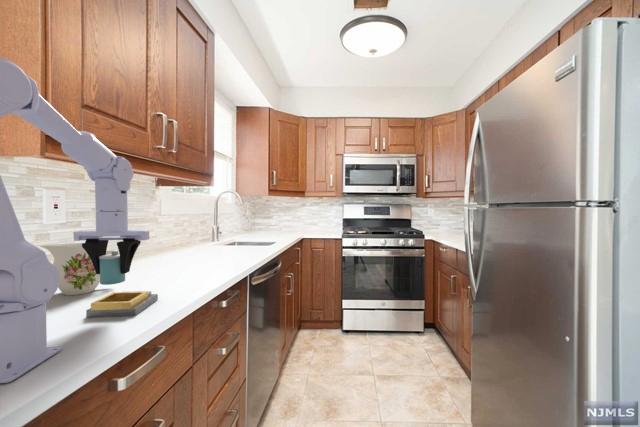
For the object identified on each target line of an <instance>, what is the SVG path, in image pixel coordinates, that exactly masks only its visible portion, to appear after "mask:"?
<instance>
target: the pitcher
mask: <svg viewBox="0 0 640 427" xmlns="http://www.w3.org/2000/svg"><path fill="white" fill-rule="evenodd" d="M82 243H83V242H76V243H55V244H51V243H50V244H41V245H39V248H40V247H41V248H43V249H45V250H48V252H49V253H50V254H51V255H52V257H53V263H52V264H53V265H54V266H55V267H56V268H57V269H58V271H59V274H60V283H59V286H58V289H59V291H60V292H62V294H63V295H65V296H79V295H83V294H89V293H91V292H94V291H95V290H96V289H97V287H98V286H99V284H100V274H96V272H95V269H94V266H93V263H92V261H91V259H90V257H89V255H88V254H87V252H86V251H85V250H84V248H83V247H82ZM112 251H117V250H115V249H107V250H106V255H109V254H112Z"/></svg>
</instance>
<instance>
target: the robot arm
mask: <svg viewBox="0 0 640 427" xmlns="http://www.w3.org/2000/svg"><path fill="white" fill-rule="evenodd" d="M7 115H13V116H14V115H15V116H18V117H20V118H21V119H23V120H24V121H26V122H28V123H29V124H31V125H32V126H34V127H35V128H37V129H38V130H40V131H42V132H43V133H45V134H46V135H48V136H49V137H51V138H52V139H54V140H56V141H57V143H60V144H61V145H60V146H61V147H60V148H61V151H62V153H63V154H64V155H66V156H67V157H69V158H70V159H71V160H73V161H74V162H76V163H77V164H78V165H80V166H82V167H83V169H84V170H85V171H86V172H87V175H88V178H89V179H90V180H91V181H93V182H94V190H95V191H94V192H95V194H94V195H95V196H94V197H95V198H94V199H95V201H94V202H95V203H94V204H95V230H79V231H73V232H72V233H73V242H74V241H75V242H76V241H79V242H80V241H84V242H81V243H82V247H83V248H84V250H85V251H86V252H87V254H88V255H89V257H90V259H91V261H92V263H93V266H94V269H95V272H96V274H100V259H99V257H100V256H103V255H106V251H107V250H108V249H107V248H108V244H109V241H117V242H116V246H117V248H118V250H117V251H118V252H119V254H120V270H121V274H125V275H126V274H128V273H130V270H131V266H132V263H133V259H134V256H135V254H136V252H137V250H138V248H139V247H140V245H141V243H142V242H141V241H147V240H150V230H132V229H131V230H129V217H128V213H129V212H128V211H129V210H128V209H129V208H128V207H129V206H128V191H129V190H130V188H131V182H132V179H133V177H134V171H135V170H133V166H132V163H131V162H130V161H129V160H128V158H127V159H126V158H125V157H124V156H120V155H119V156H118V155H116V154H115V153H114V152H113V151H112V150H110V149H109V148H108V147H107V146H105V145H104V144H103V143H102V142H101V141H100V140H98V139H97V138H96V135H95V134H94V133H92V132H88V131H85V130H77V129H76V128H75V127H74V126H73V125H72V124H71V123H70V122H69V121H68V120H67V119H66V118H65V117H64V116H63V115H62V114H60V113H59V112H58V111H57V110H56V109H55V108H54V107H53V106H52V104H50V103H49V102H48V101H47V100H46V99H45V98H43V96H42V95H41V94H40V92H39V88H38V84H37V82H36V81H35V80H34V79H33V78H31V77H30V76H29V75H27V74H26V73H25V71H24V70H23V69H22V68H21V67H20V66H19V65H17V64H16V63H15V62H13V61H11V60H9V59H7V58H4V57H0V119H1V118H2V117H4V116H7ZM59 283H60V274H59V271H58V269H57V268H56V267H55V266H54V265H53V263H51V262H50V260H49V259H48V256H47V254H46V252H45V251H44V250H43V249H41V248H40V247H38V246H36V245H34V244H32V243H31V242H29V241H28V240H27V239H26V238H25V235H24V233H23V231H22V228H21V226H20V222H19V220H18V218H17V215H16V213H15V210H14V208H13V204H12V202H11V200H10V196H9V194H8V192H7V189H6V186H5V184H4V182H3V179H2V176H1V175H0V384H7V383H11V382H12V381H14V380H16V379H17V378H19V377H21V376H23V375H24V374H25V373H27V372H28V371H30V370H32V369H33V368H34V367H36V366H38V365H39V364H41V363H43V362H44V361H46V360H48V359H49V358H51V357H52V356H54V355H55V354H57V353H58V352H60V351H62V346H48V344H47V343H48V342H47V338H48V336H47V303H49V302H51V298H52V297H53V296H54V295H55V293H56V292H57V291H58V289H59V288H58V286H59Z"/></svg>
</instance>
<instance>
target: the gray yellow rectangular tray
mask: <svg viewBox="0 0 640 427" xmlns="http://www.w3.org/2000/svg"><path fill="white" fill-rule="evenodd" d="M158 296H159V295H158V293H152V291H151V290H149V291H148V290H144V291H141V290H140V291H121V292H120V291H119V292H118V291H117V292H116V291H115V292H111V293H109V294H108V295H104V296H103V297H101V298H99V299H97V300H95V301H93V302H91V303H90V308H88V309H86V313H85V314H86V318H102V317H103V318H104V317H108V318H109V317H133V316H137V315H139V314H140V313H141V312H143V311H144V310H146V309H147V308H148V307H150V306H151V305H153V304H154V303H156V302H157V301H158V300H159V298H158Z"/></svg>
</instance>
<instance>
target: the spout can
mask: <svg viewBox="0 0 640 427" xmlns="http://www.w3.org/2000/svg"><path fill="white" fill-rule="evenodd" d="M99 259H100V283H99V284H100V285H103V286H105V285H107V286H108V285H116V284H121V283H123V282H125V281H126V273H125V274H121V270H120V254H119V250H116V251H112V254H108V255H103V256H100V257H99Z"/></svg>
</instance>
